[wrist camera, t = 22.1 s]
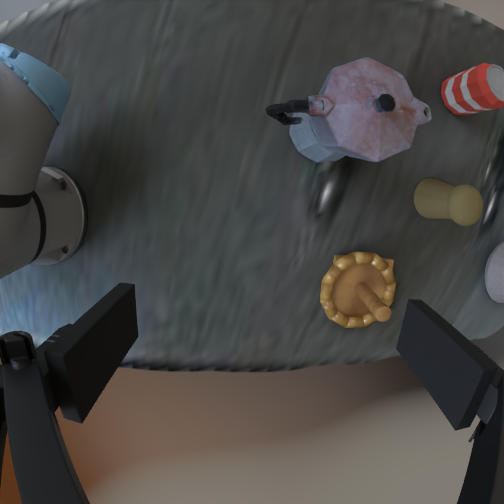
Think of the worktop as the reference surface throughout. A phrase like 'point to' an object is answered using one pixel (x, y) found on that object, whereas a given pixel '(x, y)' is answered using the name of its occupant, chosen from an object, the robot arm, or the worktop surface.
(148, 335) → the worktop surface
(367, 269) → the wooden peg stand
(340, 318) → the ring
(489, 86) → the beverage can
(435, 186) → the cork
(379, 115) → the moka pot
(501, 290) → the coffee pot
